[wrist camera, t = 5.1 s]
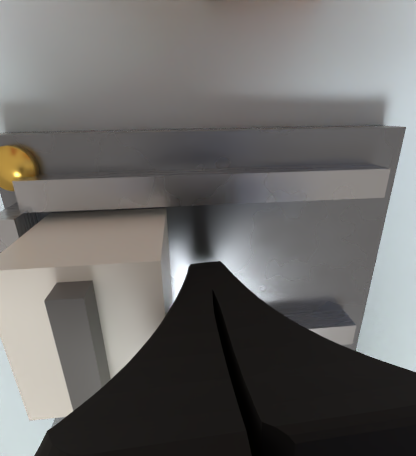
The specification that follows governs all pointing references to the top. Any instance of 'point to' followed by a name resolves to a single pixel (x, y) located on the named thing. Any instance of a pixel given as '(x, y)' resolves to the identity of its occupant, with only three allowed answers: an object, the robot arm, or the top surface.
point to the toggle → (81, 302)
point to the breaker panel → (229, 204)
